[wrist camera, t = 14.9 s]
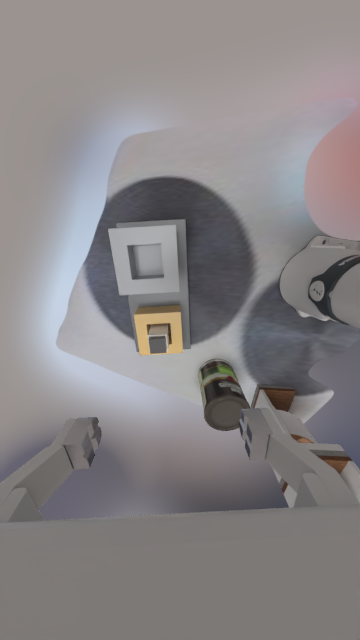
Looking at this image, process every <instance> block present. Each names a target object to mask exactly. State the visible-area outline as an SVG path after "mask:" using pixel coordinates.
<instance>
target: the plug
mask: <svg viewBox="0 0 360 640" xmlns="http://www.w3.org/2000/svg"><path fill="white" fill-rule="evenodd" d="M169 335H170V330H169V323H163V324H151V327H150V330H149V333H148V342H149V350H150V354H156V353H166V351H168V347H169Z"/></svg>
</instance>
